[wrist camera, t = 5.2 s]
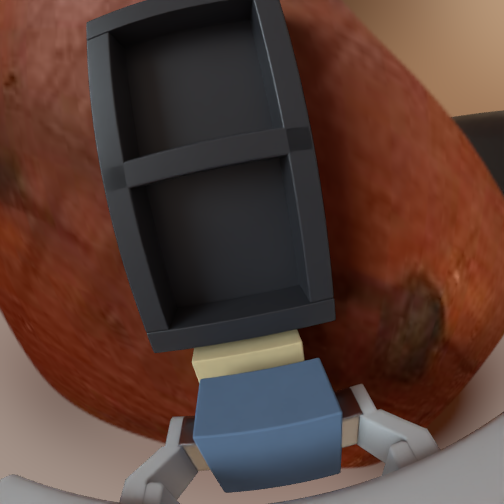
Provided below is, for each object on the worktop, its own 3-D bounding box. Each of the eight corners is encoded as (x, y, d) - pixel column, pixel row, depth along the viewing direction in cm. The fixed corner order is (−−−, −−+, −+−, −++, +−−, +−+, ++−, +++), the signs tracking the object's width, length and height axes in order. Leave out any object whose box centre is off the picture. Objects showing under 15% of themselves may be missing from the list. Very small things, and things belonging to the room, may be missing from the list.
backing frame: (265, 9, 10) (273, -22, 8) (318, 293, 14) (336, 320, 11) (109, 44, 10) (86, 22, 7) (166, 322, 14) (154, 353, 11)
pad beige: (289, 309, 14) (302, 341, 11) (298, 371, 15) (309, 408, 12) (198, 326, 14) (191, 361, 11) (217, 386, 15) (216, 424, 12)
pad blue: (319, 356, 10) (343, 412, 7) (324, 422, 11) (341, 473, 8) (199, 378, 10) (191, 437, 7) (224, 440, 11) (224, 493, 8)
